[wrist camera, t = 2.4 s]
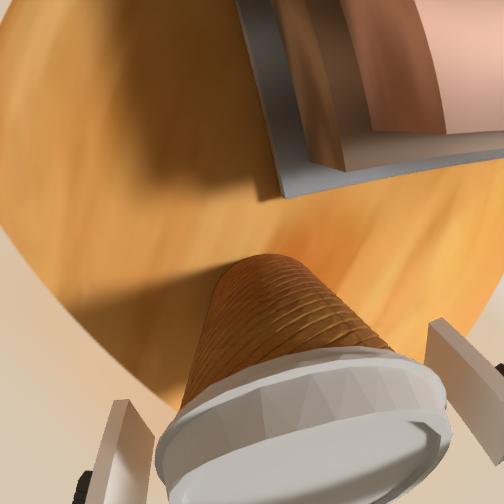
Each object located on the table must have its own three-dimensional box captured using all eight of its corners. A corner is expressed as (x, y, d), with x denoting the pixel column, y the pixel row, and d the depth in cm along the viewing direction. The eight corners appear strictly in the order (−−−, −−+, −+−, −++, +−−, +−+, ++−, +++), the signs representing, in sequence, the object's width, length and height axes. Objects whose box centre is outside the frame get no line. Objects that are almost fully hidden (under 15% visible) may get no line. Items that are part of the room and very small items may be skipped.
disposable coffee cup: (265, 387, 20) (297, 547, 9) (150, 309, 17) (95, 499, 6) (373, 295, 18) (487, 438, 7) (267, 186, 16) (378, 310, 4)
